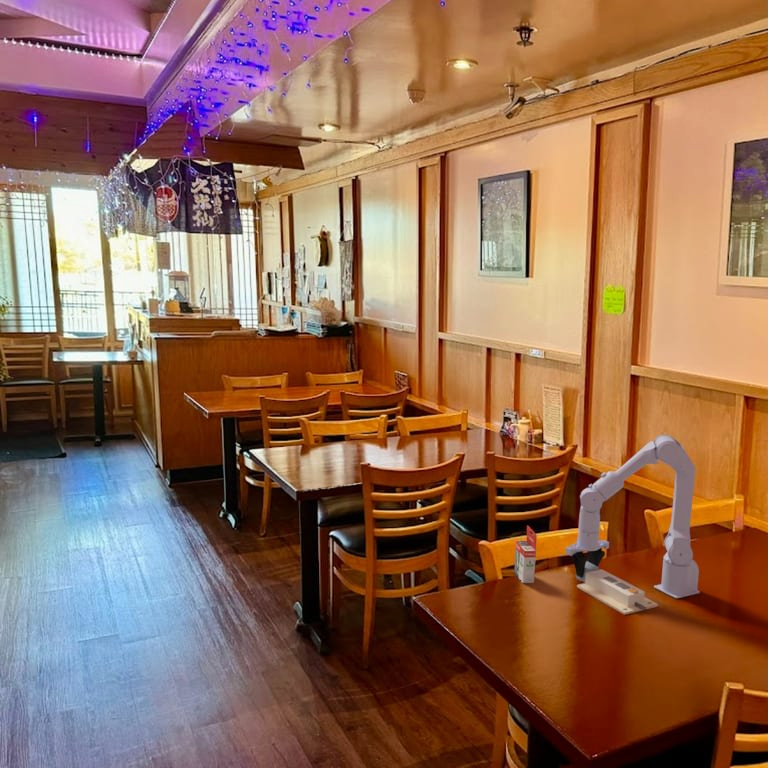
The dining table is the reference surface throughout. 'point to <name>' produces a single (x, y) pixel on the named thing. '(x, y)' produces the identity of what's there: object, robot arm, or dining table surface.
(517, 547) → the ink box
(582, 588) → the power strip
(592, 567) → the charger plug
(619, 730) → the dining table surface
